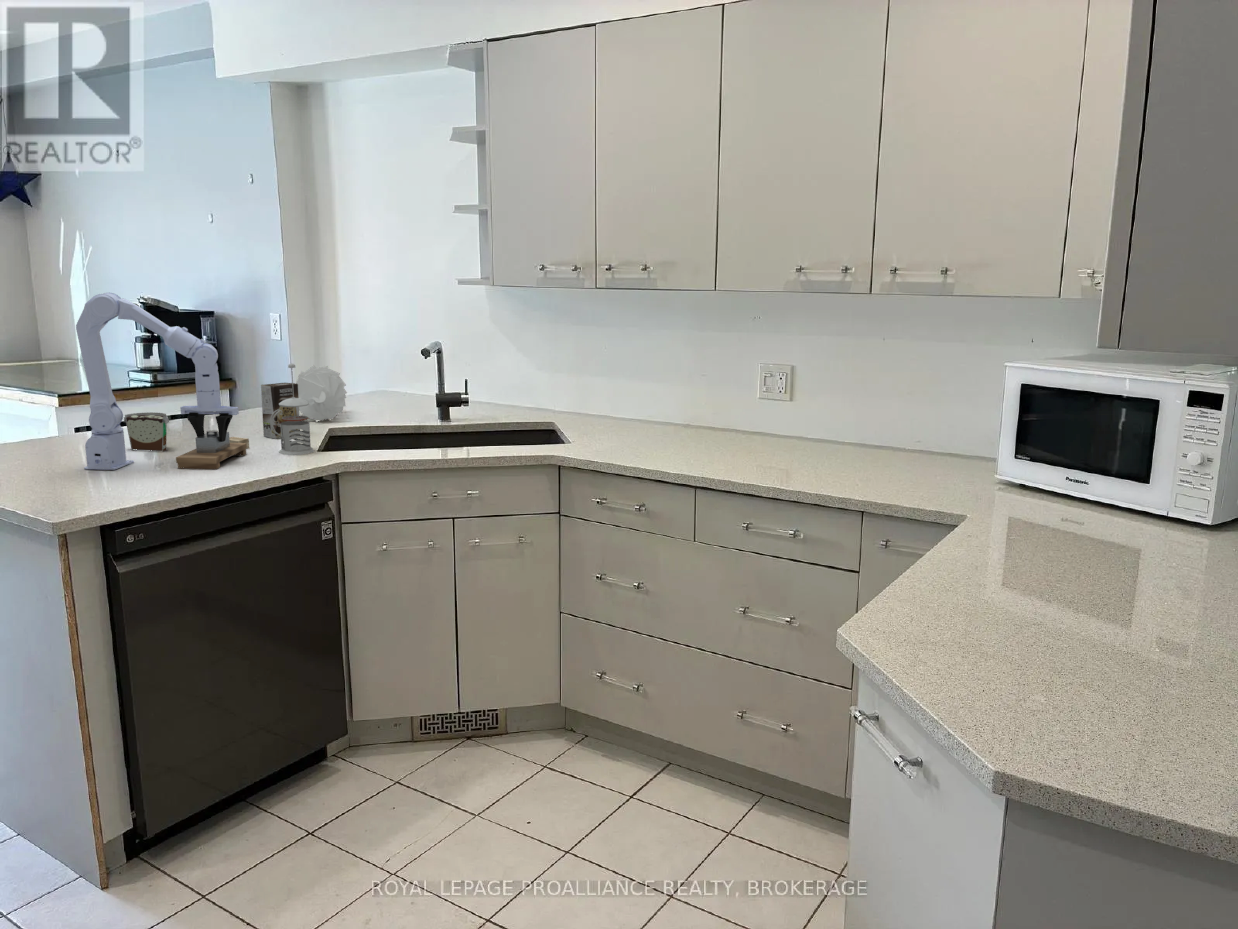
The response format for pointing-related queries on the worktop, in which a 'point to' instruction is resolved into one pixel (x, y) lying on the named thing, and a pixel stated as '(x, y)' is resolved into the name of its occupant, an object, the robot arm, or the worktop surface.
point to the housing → (211, 442)
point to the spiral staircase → (321, 393)
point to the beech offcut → (239, 440)
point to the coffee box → (277, 406)
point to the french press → (294, 428)
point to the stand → (209, 457)
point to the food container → (147, 430)
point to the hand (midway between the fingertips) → (212, 441)
